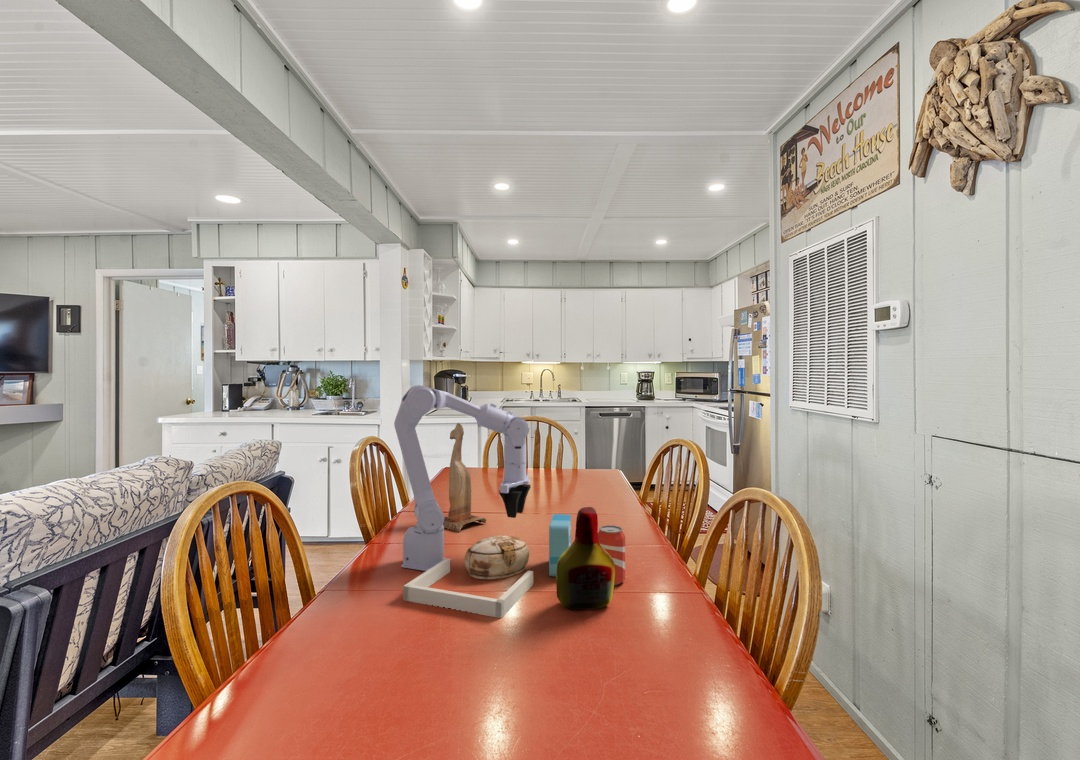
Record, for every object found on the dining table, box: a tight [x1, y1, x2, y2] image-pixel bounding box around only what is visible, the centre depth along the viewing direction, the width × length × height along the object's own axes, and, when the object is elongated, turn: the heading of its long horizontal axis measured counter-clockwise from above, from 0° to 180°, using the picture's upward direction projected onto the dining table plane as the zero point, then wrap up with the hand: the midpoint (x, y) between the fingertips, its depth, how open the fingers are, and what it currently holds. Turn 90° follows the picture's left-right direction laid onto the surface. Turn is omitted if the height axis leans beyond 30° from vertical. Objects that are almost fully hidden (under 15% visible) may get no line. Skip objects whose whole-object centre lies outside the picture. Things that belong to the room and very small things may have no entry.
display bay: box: [402, 558, 534, 619], centre depth 112 cm, size 22×17×3 cm
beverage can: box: [598, 524, 626, 586], centre depth 118 cm, size 6×6×12 cm
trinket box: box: [464, 535, 530, 580], centre depth 125 cm, size 13×15×8 cm
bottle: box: [555, 506, 615, 610], centre depth 105 cm, size 12×6×20 cm, turn 90°
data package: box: [548, 513, 572, 578], centre depth 125 cm, size 12×4×12 cm, turn 174°
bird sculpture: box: [443, 422, 487, 533], centre depth 161 cm, size 11×12×32 cm
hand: (515, 514), depth 135 cm, fingers open, 4 cm apart
